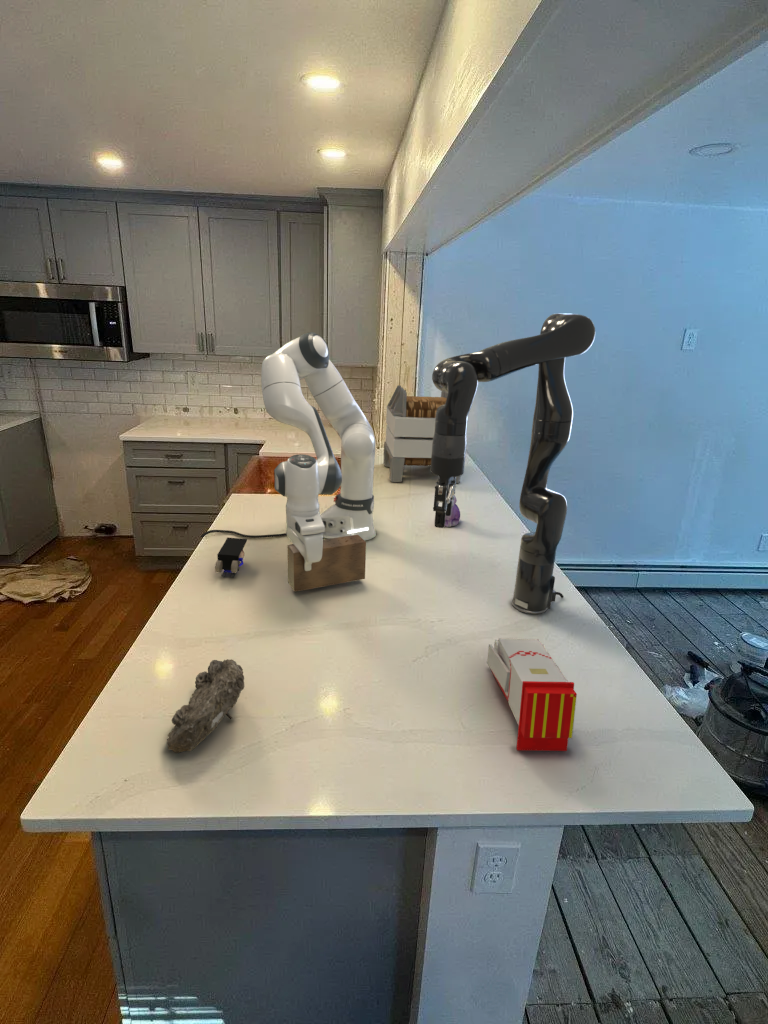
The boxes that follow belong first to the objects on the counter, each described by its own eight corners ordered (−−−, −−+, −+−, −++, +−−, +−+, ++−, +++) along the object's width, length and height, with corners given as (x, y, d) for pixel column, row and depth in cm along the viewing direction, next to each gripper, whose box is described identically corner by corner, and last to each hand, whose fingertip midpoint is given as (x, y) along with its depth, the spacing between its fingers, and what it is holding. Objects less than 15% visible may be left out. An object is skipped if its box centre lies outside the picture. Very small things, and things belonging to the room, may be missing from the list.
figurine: (445, 529, 206) (449, 489, 200) (430, 519, 214) (433, 481, 209) (467, 525, 210) (470, 487, 205) (451, 516, 218) (454, 479, 213)
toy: (536, 621, 128) (586, 689, 98) (531, 676, 131) (578, 758, 101) (482, 620, 127) (517, 688, 98) (478, 675, 130) (511, 757, 101)
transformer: (382, 463, 289) (386, 382, 275) (445, 464, 293) (451, 384, 279) (390, 482, 257) (394, 392, 243) (460, 483, 261) (468, 394, 247)
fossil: (192, 660, 117) (244, 628, 112) (224, 691, 120) (276, 661, 115) (142, 746, 98) (202, 712, 93) (182, 779, 101) (242, 748, 96)
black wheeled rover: (238, 584, 162) (249, 557, 175) (236, 562, 158) (247, 536, 172) (215, 584, 161) (227, 556, 175) (212, 561, 158) (225, 535, 171)
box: (294, 591, 153) (293, 553, 149) (288, 582, 158) (287, 544, 154) (365, 578, 162) (366, 542, 158) (357, 570, 166) (357, 534, 163)
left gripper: (280, 505, 157) (281, 551, 162) (303, 531, 140) (303, 582, 145) (302, 503, 160) (302, 548, 165) (327, 528, 143) (326, 578, 147)
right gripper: (460, 462, 119) (453, 534, 124) (469, 447, 132) (463, 513, 137) (425, 458, 120) (420, 529, 126) (438, 444, 133) (433, 509, 139)
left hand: (303, 564), depth 155 cm, fingers closed on box, 6 cm apart
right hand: (442, 520), depth 131 cm, fingers open, 8 cm apart
